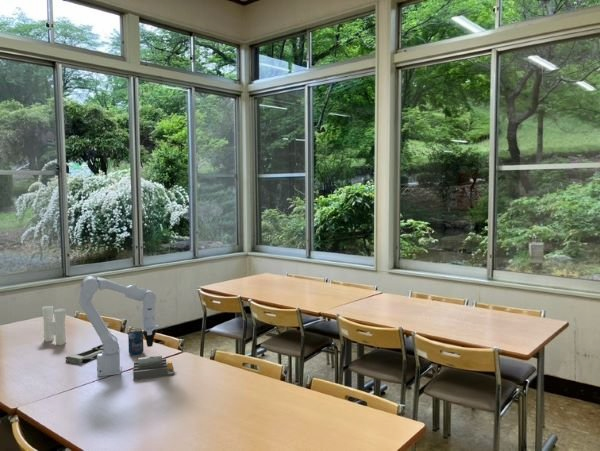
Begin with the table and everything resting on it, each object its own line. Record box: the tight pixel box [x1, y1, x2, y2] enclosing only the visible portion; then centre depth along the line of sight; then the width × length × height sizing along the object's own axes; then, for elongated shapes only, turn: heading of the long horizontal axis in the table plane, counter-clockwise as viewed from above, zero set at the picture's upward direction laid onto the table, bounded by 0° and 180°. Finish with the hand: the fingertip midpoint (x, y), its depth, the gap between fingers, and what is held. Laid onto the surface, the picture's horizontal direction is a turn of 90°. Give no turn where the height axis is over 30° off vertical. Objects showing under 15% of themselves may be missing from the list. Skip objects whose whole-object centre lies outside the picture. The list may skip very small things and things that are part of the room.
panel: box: [137, 355, 163, 367], centre depth 208 cm, size 10×2×6 cm, turn 108°
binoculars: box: [41, 305, 67, 346], centre depth 253 cm, size 17×5×18 cm, turn 56°
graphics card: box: [64, 344, 104, 366], centre depth 231 cm, size 10×3×25 cm
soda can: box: [127, 328, 145, 357], centre depth 233 cm, size 7×7×12 cm
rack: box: [132, 358, 175, 381], centre depth 209 cm, size 16×12×4 cm
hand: (149, 346), depth 216 cm, fingers closed
